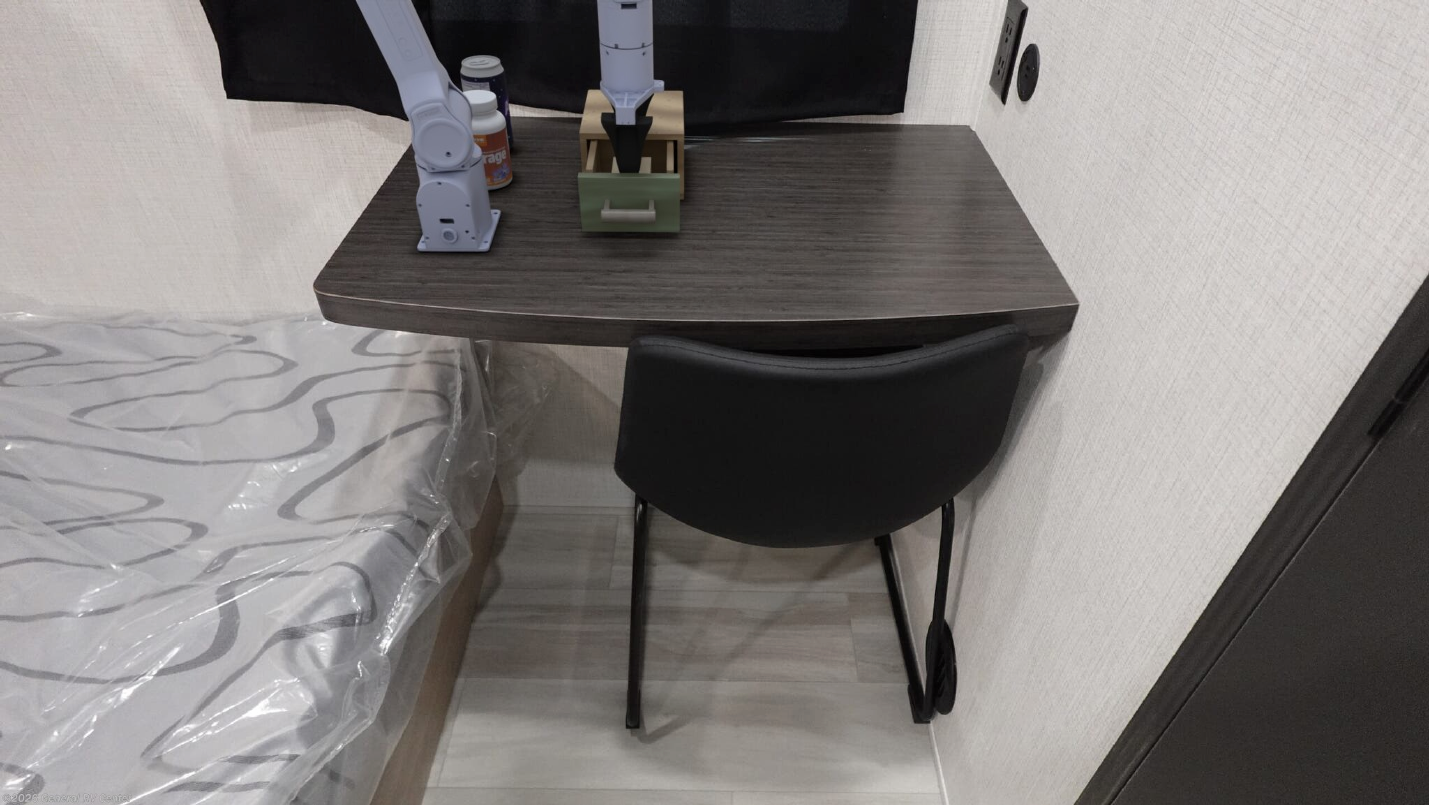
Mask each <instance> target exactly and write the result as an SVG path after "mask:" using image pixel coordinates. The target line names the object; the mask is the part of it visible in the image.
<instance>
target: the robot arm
mask: <svg viewBox="0 0 1429 805" xmlns="http://www.w3.org/2000/svg"><path fill="white" fill-rule="evenodd" d="M355 1H356V4H357V6H358V7H359V8H358V9H360V11H361V13H362V16H363V18H364V20H365V22H366V24H367V26H368V28H369V30H370V32H371V34H372V36H373V38H374V40H375V42H376V44H377V46H378V48H379V51H380V52H381V55H382V56H383V58H384V60H385V62H386V64H387V66H388V69H389V70H390V72H391V74H392V76H393V78H394V80H395V82H396V85H397V88H398V92H399V96H400V100H401V103H402V107H403V110H404V113H405V115H406V117H407V118H408V121H409V123H410V127H411V128H410V129H411V135H410V136H411V138H410V140H411V146H412V149H413V151H414V161H415V165H416V170H417V175H418V179H419V187H418V190H417V193H416V197H415V204H416V209H417V213H418V218H419V222H420V227H421V233H422V236H421V237H420V240H419V242H418V244H417V246H416V247H417V251H418V252H489V251H490V247H491V245H492V243H493V239H494V237H495V233H496V230H497V227H498V224H499V221H500V218H501V215H502V211H501V210H500V209H492V208H491V202H490V195H489V190H488V189H487V182H486V176H485V170H484V163H483V157H482V151H481V148H480V147H479V146H478V145H477V144H476V143H475V142H474V137H473V133H472V118H473V111H472V106H471V104H470V101H469V100H468V98H467V97H466V95H465V94H464V93H463V90H461V89H459V88H458V87H457V86H456V85H455V84H454V83H453V81H452V80H451V77H450V76H449V73H448V71H447V69H446V68H445V67H444V65H443V64H442V63H441V62H440V60H439V59H438V57H437V55H436V54H437V53H436V52H435V50H434V48H433V46H432V44H431V41H430V39H429V37H428V35H427V33H426V30H425V27H424V26H423V23H422V21H421V19H420V16H419V15H418V13H417V10H416V8H415V7H414V3H413V2H412V0H355ZM596 1H597V20H598V36H599V56H600V74H601V80H600V82H599V88H600V89H599V90H601V92H602V93H603V94H604V96H605V97H606V98H607V99H608V100H609V102H610V104H611V106H612V108H613V111H614V113H613V112H602V113H601V124H602V126H603V128H604V130H605V131H606V133H607V135H608V137H609V139H610V141H611V144H612V146H613V150H614V154H615V158H616V162H617V166H618V169H619V172H620V173H639V171H640V166H641V160H642V152H643V146H644V142H645V139H646V136H647V134H648V132H649V130H650V128H651V126H652V123H653V116H646V114H647V110H648V107H649V104H650V102H651V100H652V98H653V96H654V93H655V92H663V91H665V81H664V80H660V79H654V29H653V28H654V23H653V21H654V20H653V0H596Z"/></svg>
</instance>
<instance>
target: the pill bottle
mask: <svg viewBox="0 0 1429 805" xmlns="http://www.w3.org/2000/svg"><path fill="white" fill-rule="evenodd" d="M462 92H463V91H462ZM463 93H464V94H465V95H466V97H467V98H468V100H469V101H470V104H471V106H472V111H473V118H472V133H473V137H474V142H475V143H476V144H477V145H478V146H479V147H480V148H481V151H482V157H483V163H484V170H485V176H486V182H487V189H488V191H494V190H498V189H499V190H500V189H502V188H504V187H506V186H508V185H509V184H510V183H511V182H512V181H513V168H512V161H511V154H510V153H511V152H510V149H509V144H508V136H507V128H506V121H505V118H504V116H503V115H502V113H500V112H499V111H497V110H496V109H497V99H496V95H495V94H494V93H493V92H490V91H486V90H470V91H466V92H463Z"/></svg>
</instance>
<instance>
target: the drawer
mask: <svg viewBox="0 0 1429 805" xmlns="http://www.w3.org/2000/svg"><path fill="white" fill-rule="evenodd" d="M614 157H615V154H614V150H613V146H612V144H611V141H610V139H591V144H590V149H589V155H588V160H587V166H586V173H582V172H578V175H577V188H578V198H579V210H580V211H579V212H580V223H581V232H603V233H604V232H605V233H606V232H609V233H611V232H613V233H615V232H616V233H617V232H619V233H620V232H621V233H622V232H623V233H624V232H626V233H632V232H633V233H680V232H681V199H680V174H679V173H674V163H673V140H645V142H644V146H643V152H642V157H651V173H612V165H613V158H614Z"/></svg>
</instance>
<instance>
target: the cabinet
mask: <svg viewBox="0 0 1429 805" xmlns="http://www.w3.org/2000/svg"><path fill="white" fill-rule="evenodd" d="M602 112H613V113H614V111H613V108H612V106H611V104H610V102H609V100H608V99H607V98H606V97H605V96H604V94H603V93H602V92H601V90H600V89H588V90H587V94H586V100H585V103H584V109H583V114H582V118H581V123H580V128H579V133H578V134H579V144H580V145H579V147H580V149H579V150H580V159H581V160H580V161H581V173H586V166H587V160H588V155H589V149H590V144H591V139H609V137H608V135H607V133H606V131H605V130H604V128H603V126H602V124H601V113H602ZM684 115H685V114H684V91H683V90H664V91H663V92H655V93H654V96H653V98H652V100H651V102H650V104H649V107H648V110H647V114H646V116H653V123H652V126H651V128H650V130H649V132H648V134H647V136H646V139H645V140H673V163H674V173H679V174H680V200H684V199H685V121H684V120H685V119H684Z"/></svg>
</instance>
